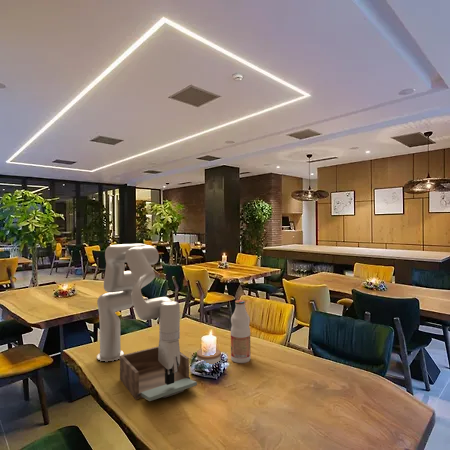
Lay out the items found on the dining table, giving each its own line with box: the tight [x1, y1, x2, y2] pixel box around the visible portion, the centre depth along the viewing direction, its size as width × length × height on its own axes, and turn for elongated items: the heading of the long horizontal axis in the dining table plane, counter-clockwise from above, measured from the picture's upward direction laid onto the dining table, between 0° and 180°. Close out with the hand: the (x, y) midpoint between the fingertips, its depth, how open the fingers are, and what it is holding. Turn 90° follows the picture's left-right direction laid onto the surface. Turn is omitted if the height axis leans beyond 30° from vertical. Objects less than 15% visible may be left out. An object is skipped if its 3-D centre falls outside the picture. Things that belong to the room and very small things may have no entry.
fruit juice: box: [230, 299, 252, 364], centre depth 154 cm, size 9×9×28 cm
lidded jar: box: [196, 348, 222, 364], centre depth 144 cm, size 11×11×9 cm
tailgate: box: [141, 378, 198, 402], centre depth 122 cm, size 2×19×8 cm
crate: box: [119, 345, 191, 400], centre depth 133 cm, size 21×22×10 cm
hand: (169, 382), depth 122 cm, fingers closed
